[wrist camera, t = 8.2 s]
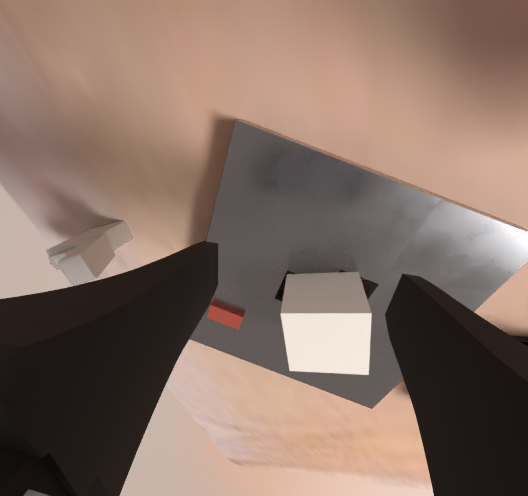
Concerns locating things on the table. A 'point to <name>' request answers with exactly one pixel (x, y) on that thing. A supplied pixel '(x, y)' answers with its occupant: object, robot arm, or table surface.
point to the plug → (326, 323)
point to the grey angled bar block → (89, 252)
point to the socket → (337, 250)
